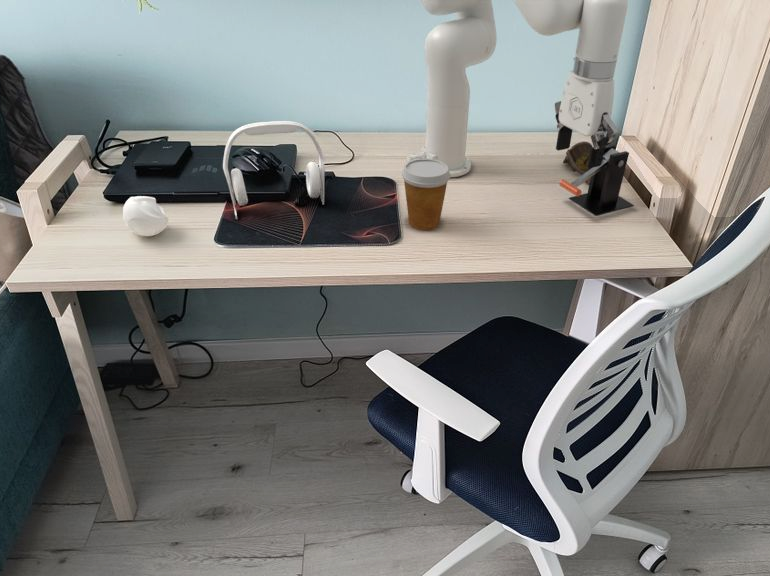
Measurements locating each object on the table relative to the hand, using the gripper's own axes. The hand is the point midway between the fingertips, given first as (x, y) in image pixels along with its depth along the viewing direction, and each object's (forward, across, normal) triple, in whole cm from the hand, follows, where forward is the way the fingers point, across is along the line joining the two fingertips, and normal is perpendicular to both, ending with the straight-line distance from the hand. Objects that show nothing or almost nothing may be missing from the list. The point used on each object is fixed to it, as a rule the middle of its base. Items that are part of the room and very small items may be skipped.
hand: (577, 157), depth 128 cm
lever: (+5, 0, +6) cm, 8 cm away
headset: (+12, -30, -53) cm, 62 cm away
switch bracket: (+13, 0, +10) cm, 16 cm away
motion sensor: (+12, -30, -79) cm, 86 cm away
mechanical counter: (+13, -14, +16) cm, 25 cm away
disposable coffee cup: (+13, -10, -29) cm, 34 cm away
